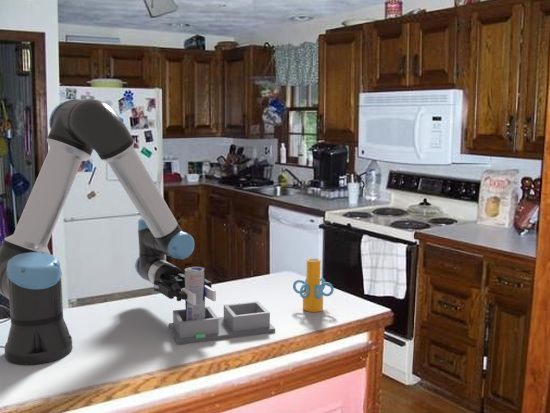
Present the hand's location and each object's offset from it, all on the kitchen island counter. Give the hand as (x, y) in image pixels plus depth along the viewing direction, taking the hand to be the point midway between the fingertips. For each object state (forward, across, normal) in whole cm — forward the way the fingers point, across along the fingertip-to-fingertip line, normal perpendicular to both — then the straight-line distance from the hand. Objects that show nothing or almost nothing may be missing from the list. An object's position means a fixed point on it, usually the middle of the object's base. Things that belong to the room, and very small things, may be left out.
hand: (204, 297), depth 147 cm
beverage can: (-5, 0, -9) cm, 10 cm away
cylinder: (-3, -37, -11) cm, 39 cm away
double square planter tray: (-3, -7, -11) cm, 13 cm away
